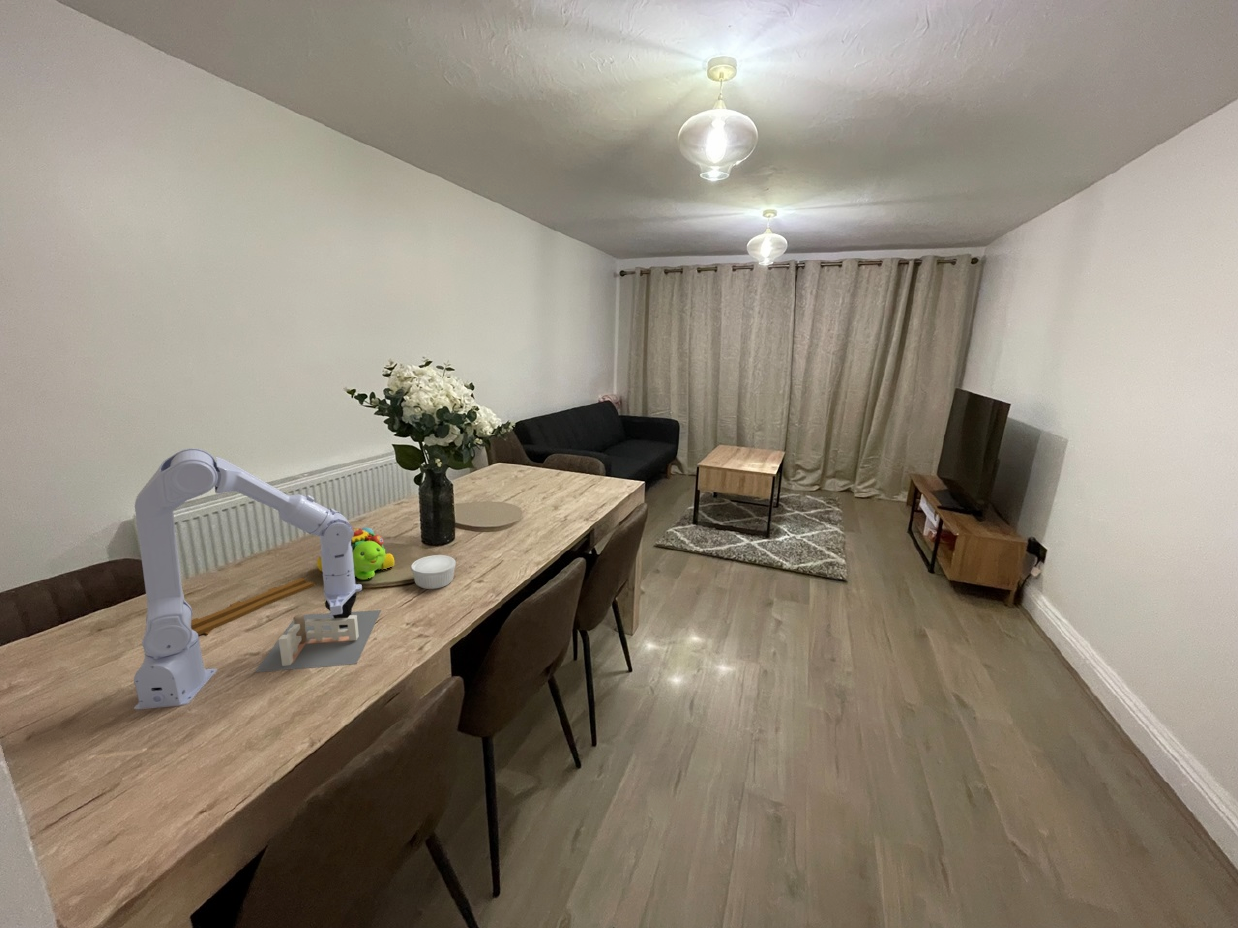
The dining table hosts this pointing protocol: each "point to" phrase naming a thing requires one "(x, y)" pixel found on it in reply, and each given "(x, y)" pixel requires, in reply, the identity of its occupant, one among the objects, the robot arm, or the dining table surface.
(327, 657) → the card
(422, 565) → the ramekin
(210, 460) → the robot arm
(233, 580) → the dining table surface
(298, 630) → the fence fixed
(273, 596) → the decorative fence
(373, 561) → the turtle toy
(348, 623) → the fence gate
